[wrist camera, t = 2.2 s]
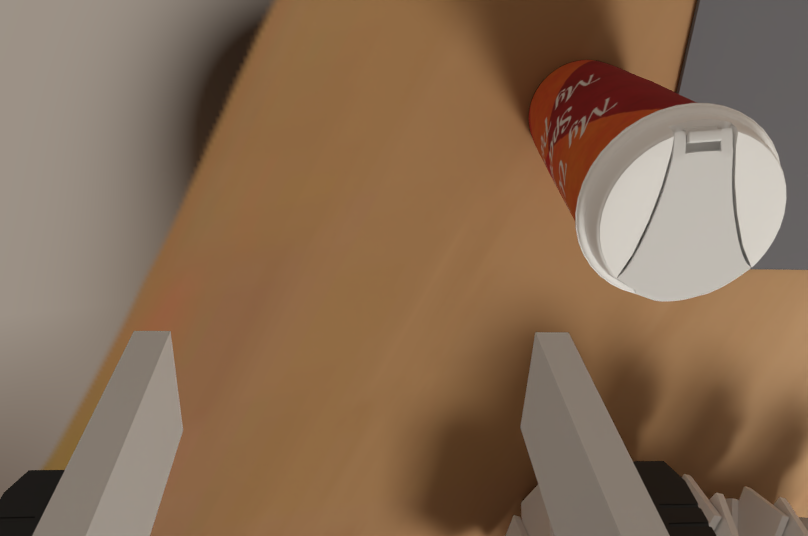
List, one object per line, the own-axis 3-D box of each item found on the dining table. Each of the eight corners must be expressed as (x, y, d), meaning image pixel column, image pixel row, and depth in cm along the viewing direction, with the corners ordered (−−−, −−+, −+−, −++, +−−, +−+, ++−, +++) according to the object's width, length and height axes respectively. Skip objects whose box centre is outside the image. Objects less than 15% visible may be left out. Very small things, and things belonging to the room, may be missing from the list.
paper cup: (509, 42, 35) (594, 121, 23) (660, 32, 36) (823, 106, 23) (506, 188, 39) (578, 323, 27) (642, 178, 39) (776, 308, 27)
